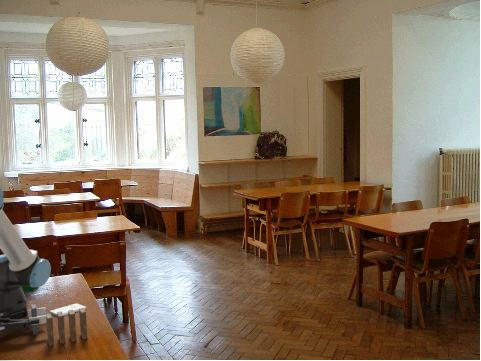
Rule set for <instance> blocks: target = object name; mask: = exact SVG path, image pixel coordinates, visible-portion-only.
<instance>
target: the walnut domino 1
mask: <svg viewBox="0 0 481 361" xmlns="http://www.w3.org/2000/svg"><path fill="white" fill-rule="evenodd" d="M45 324H46V334H47V335H46V337H47V344H48V346H49V347H52V346H53V347H54V346H55V339H54V336H55V335H54V325H53V315H52V314H51V313H49V312H48V313H46V323H45Z"/></svg>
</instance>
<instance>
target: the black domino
mask: <svg viewBox="0 0 481 361" xmlns="http://www.w3.org/2000/svg"><path fill="white" fill-rule="evenodd" d="M37 308H38V307H37V305H36V304H30V310H31V314H32V317H37ZM32 317H31V318H32ZM31 326H32V333H33V335H34V336H35V335H39V324H37V325H31Z"/></svg>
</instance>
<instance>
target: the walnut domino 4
mask: <svg viewBox="0 0 481 361" xmlns="http://www.w3.org/2000/svg"><path fill="white" fill-rule="evenodd" d="M78 313H79V326H80V336H81V339H82V340H88V325H87V324H88V322H87V311H86V309H84V308H79V312H78Z"/></svg>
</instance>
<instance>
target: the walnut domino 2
mask: <svg viewBox="0 0 481 361" xmlns="http://www.w3.org/2000/svg"><path fill="white" fill-rule="evenodd" d="M56 317H57V328H58V329H57V330H58V341H59V342H60V345H62V344H63V345H64V344H66V333H65V332H66V331H65V316H64V315H63V313H62V311H61V312H57V316H56Z"/></svg>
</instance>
